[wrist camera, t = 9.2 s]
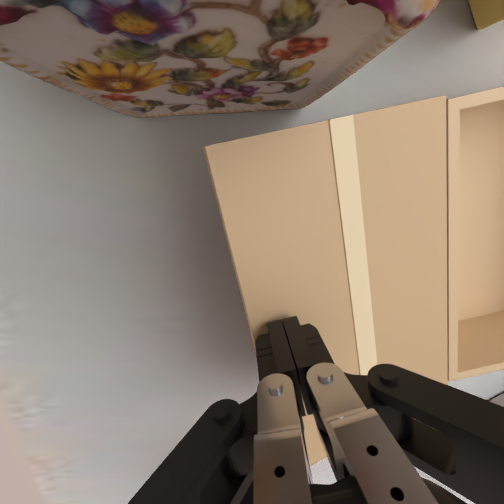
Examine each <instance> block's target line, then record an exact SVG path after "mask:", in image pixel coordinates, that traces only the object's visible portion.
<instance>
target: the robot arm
mask: <svg viewBox="0 0 504 504" xmlns="http://www.w3.org/2000/svg"><path fill="white" fill-rule="evenodd" d="M282 322H283V324H282ZM267 327H268V332H269V333H266V334H261V335H258V337H257V339H256V341H255V348H256V356H257V364H258V372H259V380H260V383H259V385H258V387H257V392H256V393H255V394H254V395H253V396H252V397H251V398H250V399H248V400H246V401H245V402H243V403H241V404H238V403H237V402H236V401H234V400H231V399H223V400H220V401H217V402H215V403H214V404H212V405H211V406H210V407H209V408H208V409H207V410H206V412H205V413H204V414H203V415H202V416H201V417H200V419H199V420H198V421H197V422H196V423H195V425H194V426H193V427H192V428H191V429H190V430H189V432H188V433H187V434H186V435H185V436H184V438H183V439H182V440H181V441H180V442H179V443H178V445H177V446H176V447H175V448H174V449H173V451H172V452H171V453H170V454H169V455H168V456H167V458H166V459H165V460H164V461H163V462H162V464H161V465H160V466H159V467H158V468H157V469H156V471H155V472H154V473H153V474H152V475H151V477H150V478H149V479H148V480H147V481H146V482H145V484H144V485H143V486H142V487H141V488H140V490H139V491H138V492H137V493H136V494H135V495H134V497H133V498H132V499H131V500H130V501H129V503H128V504H240V502H241V500H242V499H243V497H244V495H245V493H246V492H247V490H248V488H249V486H250V484H251V483H252V481H253V479H254V499H253V504H467V503H465V502H464V501H462V500H461V499H459V498H458V497H456V496H455V495H453V494H452V493H450V492H449V491H447V490H446V489H444V488H442V487H441V486H439V485H437V484H435V483H433V482H431V481H429V480H427V479H424V478H422V477H420V475H419V474H418V472H417V471H416V469H415V468H414V466H415V467H417V468H418V469H420V470H421V471H423V472H425V473H426V474H428V475H430V476H431V477H433V478H435V479H436V480H438V481H439V482H441V483H443V484H444V485H446V486H448V487H449V488H451V489H452V490H454V491H456V492H457V493H459V494H461V495H462V496H464V497H466V498H467V499H469V500H470V501H472V502H474V503H475V504H504V407H503V406H500V405H498V404H495V403H492V402H490V401H487V400H485V399H482V398H479V397H477V396H474V395H472V394H469V393H466V392H464V391H461V390H459V389H456V388H453V387H451V386H448V385H446V384H443V383H440V382H438V381H435V380H433V379H430V378H427V377H425V376H422V375H420V374H417V373H414V372H412V371H409V370H407V369H404V368H401V367H399V366H396V365H393V364H378V365H375V366H373V367H372V368H371V369H370V370H369V371H368V375H353V374H348V373H345V372H343V371H342V370H341V368H340V367H338V366H337V365H335V363H334V361H333V359H332V357H331V355H330V353H329V351H328V349H327V347H326V345H325V343H324V342H323V339H322V337H321V336H320V333H319V331H318V329H317V328H316V327H314V326H313V325H311V324H310V323H309V324H304V325H300V323H299V321H298V318H297V316H292V317H288V318H284V319H282V321H281V319H280V320H275V321H271V322H267ZM283 327H284V328H283ZM302 398H303V399H302ZM303 402H304V404H303ZM304 405H305V408H306V412H307V415H311V414H313V416H314V419H315V422H316V427H317V432H318V435H319V437H320V440H321V442H322V445H323V447H324V450H325V452H326V455H327V457H328V460H329V462H330V465H331V467H332V470H333V472H334V475H335V477H336V480H337V482H335V483H334V484H331V485H322V484H313V480H312V474H311V469H310V463H309V457H308V452H307V446H306V441H305V435H304V423H303V418H302V417H303V416H306V413H305V409H304Z"/></svg>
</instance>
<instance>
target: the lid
mask: <svg viewBox="0 0 504 504" xmlns="http://www.w3.org/2000/svg"><path fill="white" fill-rule="evenodd" d="M203 151H204V154H205V158H206V162H207V166H208V170H209V174H210V178H211V182H212V186H213V190H214V193H215V197H216V201H217V205H218V209H219V213H220V217H221V221H222V225H223V228H224V232H225V236H226V240H227V244H228V248H229V252H230V256H231V260H232V264H233V267H234V271H235V275H236V279H237V283H238V287H239V291H240V295H241V299H242V302H243V306H244V310H245V314H246V318H247V322H248V326H249V330H250V334H251V338H252V341H253V345H254V349H255V353H256V348H255V341H256V339H257V337H258V335H261V334H266V333H269V332H268V327H267V322H271V321H275V320H280V319H281V321H282V319H284V318H288V317H292V316H297V318H298V321H299V323H300V325H304V324H309V323H310V324H311V325H313V326H314V327H316V328H317V329H318V331H319V333H320V336H321V337H322V339H323V342H324V343H325V345H326V347H327V349H328V351H329V353H330V355H331V357H332V359H333V361H334V363H335V365H337V366H338V367H340V368H341V370H342V371H343V372H345V373H348V374H353V375H368V371H369V370H370V369H371V368H372V367H373V366H375V365H378V364H393V365H396V366H399V367H401V368H404V369H407V370H409V371H412V372H414V373H417V374H420V375H422V376H425V377H427V378H430V379H433V380H435V381H438V382H440V383H443V384H446V385H448V382H447V169H446V95H444V96H439V97H434V98H430V99H425V100H420V101H416V102H411V103H406V104H401V105H397V106H392V107H387V108H383V109H378V110H373V111H368V112H364V113H359V114H354V115H349V116H344V117H340V118H335V119H330V120H326V121H321V122H317V123H312V124H307V125H302V126H298V127H293V128H288V129H283V130H279V131H274V132H269V133H265V134H260V135H255V136H250V137H246V138H241V139H236V140H232V141H227V142H222V143H217V144H213V145H208V146H204V147H203ZM282 324H283V322H282ZM283 328H284V327H283ZM256 357H257V356H256ZM302 399H303V398H302ZM303 404H304V402H303ZM304 409H305V413H306V416H303V417H302V418H303V423H304V435H305V441H306V446H307V452H308V457H309V463H310V466H311V465H313V464H315V463H316V462H318V461H320V460H322V459H324V458H325V457H327V455H326V452H325V450H324V447H323V445H322V442H321V440H320V437H319V435H318V432H317V427H316V422H315V419H314V416H313V414H311V415H307V412H306V408H305V405H304Z"/></svg>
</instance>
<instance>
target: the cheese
mask: <svg viewBox="0 0 504 504" xmlns="http://www.w3.org/2000/svg"><path fill="white" fill-rule="evenodd" d="M468 1H469V5H470V8H471V11H472V14H473V17H474V21H475V24H476V27H477V29H478V30H479V29H483V28H485V27H487V26H490V25H492V24H494V23H496V22H498V21H500V20H503V19H504V0H468Z"/></svg>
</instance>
